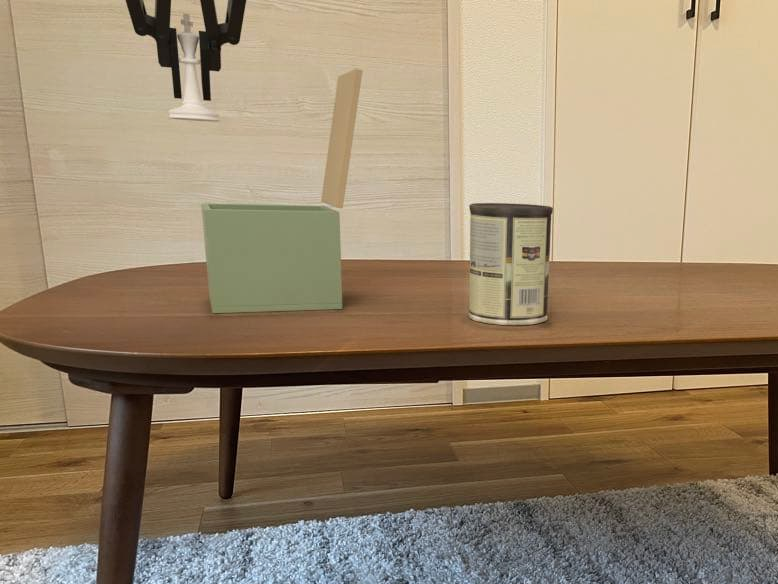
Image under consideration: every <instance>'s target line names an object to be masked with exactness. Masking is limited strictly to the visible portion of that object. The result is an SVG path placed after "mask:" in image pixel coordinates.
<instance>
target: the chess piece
mask: <svg viewBox="0 0 778 584" xmlns="http://www.w3.org/2000/svg"><path fill="white" fill-rule="evenodd" d="M190 16H191V15H190V14H189V13H182V17H183V18H182V19H180V25H182V26H183V28H184V29H183V30H184V31H183V32H178V33H177V41H178V42H179V44H180V47H181V51H182V52H183V57H180V58H179V63H180V64H184V66H185V67H184V68H185V69H184V93H183V100H182V101H180V103H181V104H182V105H180V106H178V107H174V108H171V109H169V110H168V114H169V115H168V119H172V120H182V121H196V122H197V121H198V122H213V123H214V122H215V123H216V122H218V123H219V122H221V120H220V118H219V116H220V114H219V113H218V112H216V111H214V110H212V109H209V108H206V107H205V105H206V103H205V102H203V98H202V95H201V91H200V86H199V81H198V73H197V70H196V65H201V62H200V59H198V58H196V53H197V48H198V44H199V35H197V34H195V33H193V32H192V30H191V28H194V22H193V21H191V18H190Z"/></svg>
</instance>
